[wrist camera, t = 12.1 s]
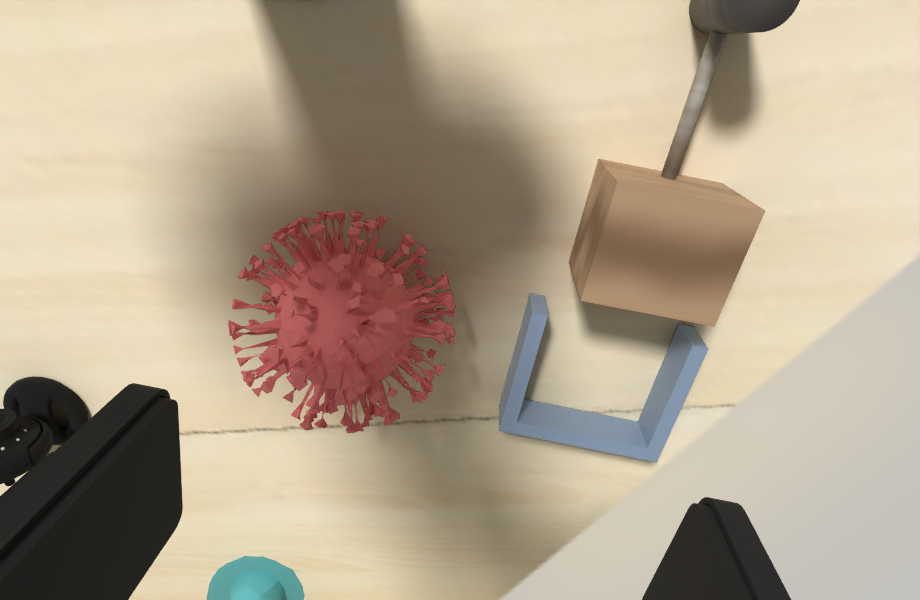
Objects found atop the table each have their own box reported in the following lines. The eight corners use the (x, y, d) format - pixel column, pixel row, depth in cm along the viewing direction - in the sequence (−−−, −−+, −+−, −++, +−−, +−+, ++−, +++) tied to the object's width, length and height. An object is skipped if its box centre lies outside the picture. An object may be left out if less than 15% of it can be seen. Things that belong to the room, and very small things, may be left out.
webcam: (80, 377, 50) (-13, 450, 41) (99, 441, 53) (17, 522, 44) (-1, 371, 50) (-111, 442, 41) (23, 435, 54) (-73, 514, 45)
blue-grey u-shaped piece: (646, 435, 48) (656, 462, 45) (499, 405, 48) (499, 430, 45) (693, 326, 43) (708, 348, 40) (530, 293, 43) (532, 312, 40)
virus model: (385, 148, 39) (325, 202, 26) (497, 304, 44) (494, 419, 30) (242, 252, 43) (125, 345, 30) (357, 384, 48) (300, 516, 35)
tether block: (682, 284, 42) (714, 326, 36) (568, 261, 42) (580, 300, 36) (799, -13, 33) (869, -26, 27) (656, -42, 33) (692, -62, 27)
